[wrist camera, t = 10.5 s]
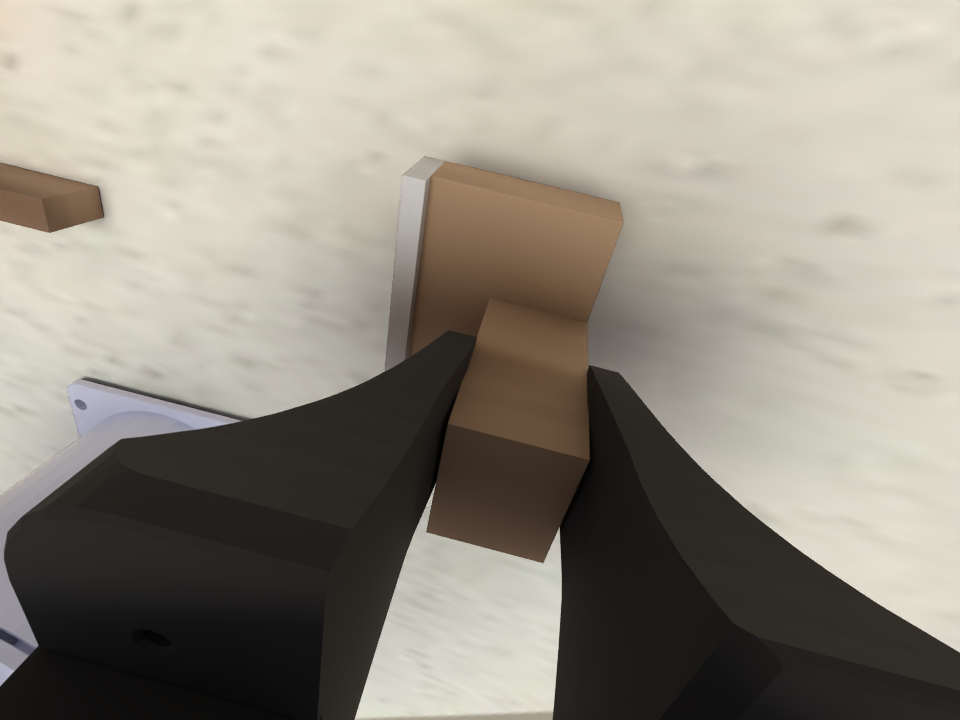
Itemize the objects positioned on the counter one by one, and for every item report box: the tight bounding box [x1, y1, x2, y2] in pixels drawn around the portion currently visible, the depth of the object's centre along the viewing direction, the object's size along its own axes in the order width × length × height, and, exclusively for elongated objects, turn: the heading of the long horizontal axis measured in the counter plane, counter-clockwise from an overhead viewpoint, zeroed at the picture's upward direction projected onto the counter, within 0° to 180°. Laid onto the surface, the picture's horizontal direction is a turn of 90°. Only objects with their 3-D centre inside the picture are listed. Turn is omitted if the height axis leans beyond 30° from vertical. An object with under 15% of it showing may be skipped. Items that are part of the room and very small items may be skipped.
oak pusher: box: [385, 156, 623, 563], centre depth 12 cm, size 8×5×6 cm, turn 168°
